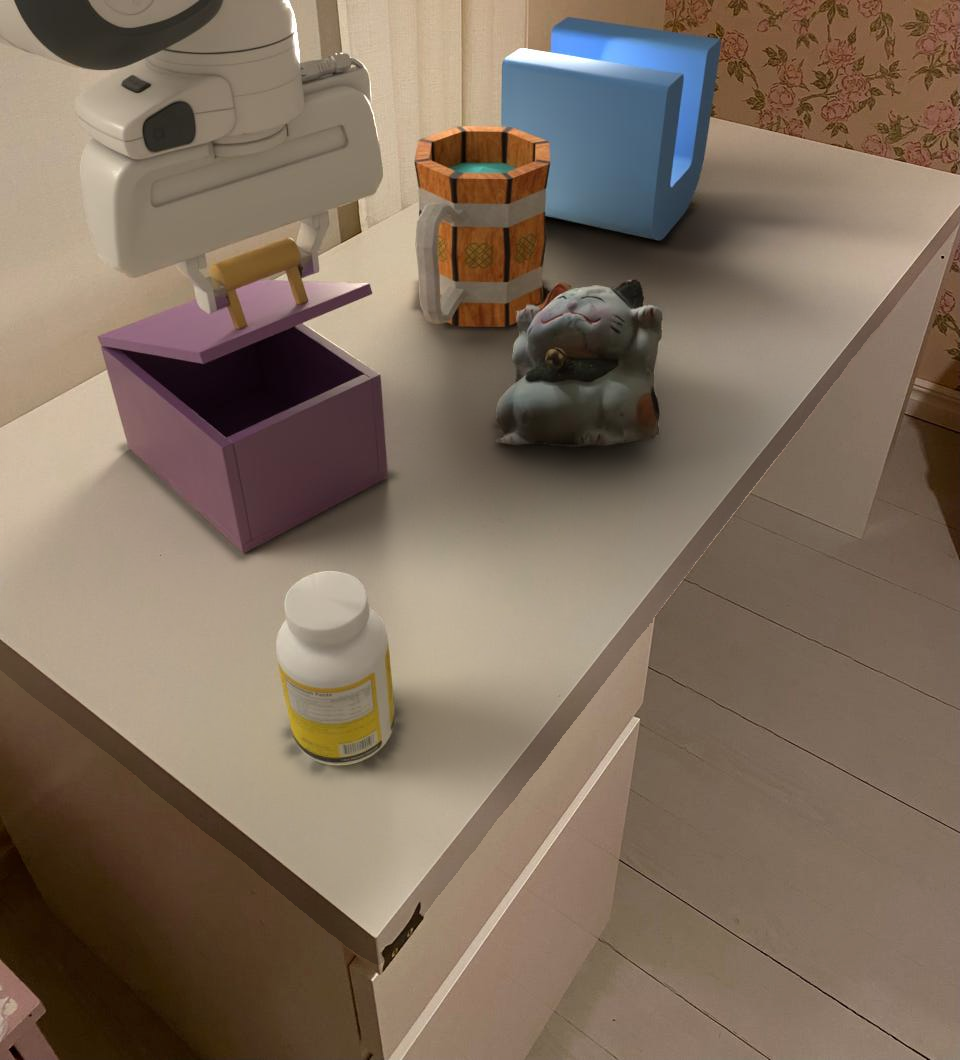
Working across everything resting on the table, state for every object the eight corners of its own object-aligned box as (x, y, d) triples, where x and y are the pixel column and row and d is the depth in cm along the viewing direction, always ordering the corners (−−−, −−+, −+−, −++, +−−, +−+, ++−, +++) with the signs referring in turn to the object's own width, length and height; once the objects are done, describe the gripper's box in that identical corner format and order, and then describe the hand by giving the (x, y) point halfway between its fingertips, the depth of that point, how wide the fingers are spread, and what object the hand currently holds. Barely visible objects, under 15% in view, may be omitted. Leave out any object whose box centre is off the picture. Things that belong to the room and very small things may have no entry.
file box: (388, 477, 85) (381, 374, 78) (243, 554, 78) (221, 448, 72) (266, 386, 95) (250, 288, 88) (128, 447, 88) (100, 346, 81)
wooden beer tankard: (450, 255, 114) (448, 116, 104) (566, 279, 110) (575, 137, 100) (364, 341, 101) (352, 191, 91) (492, 372, 97) (494, 219, 87)
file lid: (373, 294, 74) (351, 219, 72) (203, 364, 67) (173, 284, 65) (251, 288, 88) (230, 225, 86) (100, 346, 81) (73, 279, 79)
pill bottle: (353, 673, 69) (337, 543, 62) (416, 730, 66) (408, 600, 58) (271, 726, 66) (244, 596, 58) (334, 790, 62) (313, 660, 55)
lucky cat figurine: (463, 441, 88) (468, 272, 85) (546, 431, 98) (554, 278, 95) (613, 463, 79) (625, 274, 76) (690, 449, 88) (703, 280, 85)
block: (561, 168, 132) (570, 15, 120) (698, 195, 126) (722, 37, 114) (499, 224, 120) (501, 60, 108) (647, 257, 114) (667, 87, 102)
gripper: (337, 35, 70) (353, 230, 79) (45, 107, 59) (103, 322, 69) (396, 58, 66) (406, 259, 75) (97, 138, 56) (150, 360, 65)
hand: (259, 290), depth 72 cm, fingers closed on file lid, 6 cm apart
